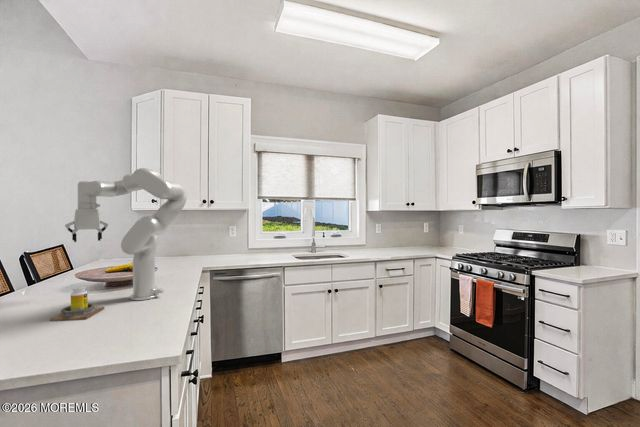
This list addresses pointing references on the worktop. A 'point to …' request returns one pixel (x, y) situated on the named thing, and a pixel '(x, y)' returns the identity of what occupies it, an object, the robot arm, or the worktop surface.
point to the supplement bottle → (79, 299)
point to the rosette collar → (77, 313)
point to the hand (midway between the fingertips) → (87, 241)
